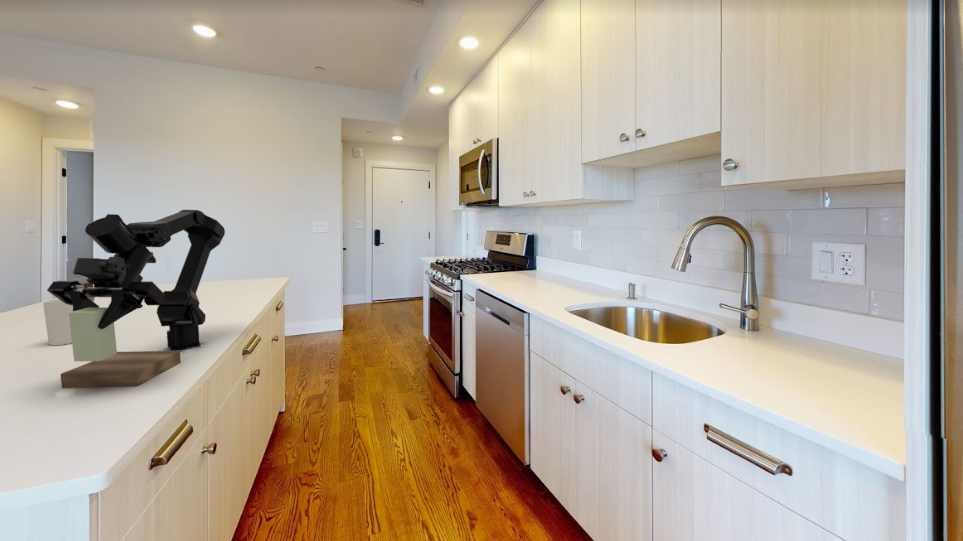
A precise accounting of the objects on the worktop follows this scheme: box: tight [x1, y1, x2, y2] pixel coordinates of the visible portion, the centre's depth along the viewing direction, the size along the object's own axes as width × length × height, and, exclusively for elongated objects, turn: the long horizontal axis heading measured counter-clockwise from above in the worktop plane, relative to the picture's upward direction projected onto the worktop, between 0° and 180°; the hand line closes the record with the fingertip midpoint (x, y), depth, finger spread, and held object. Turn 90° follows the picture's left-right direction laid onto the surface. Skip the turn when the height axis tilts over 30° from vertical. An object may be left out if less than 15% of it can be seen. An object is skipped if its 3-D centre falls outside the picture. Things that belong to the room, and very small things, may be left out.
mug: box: [42, 298, 73, 346], centre depth 106 cm, size 10×7×12 cm, turn 50°
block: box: [69, 307, 118, 362], centre depth 77 cm, size 4×4×10 cm
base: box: [59, 350, 182, 389], centre depth 85 cm, size 14×14×3 cm
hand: (86, 328), depth 75 cm, fingers closed on block, 4 cm apart
